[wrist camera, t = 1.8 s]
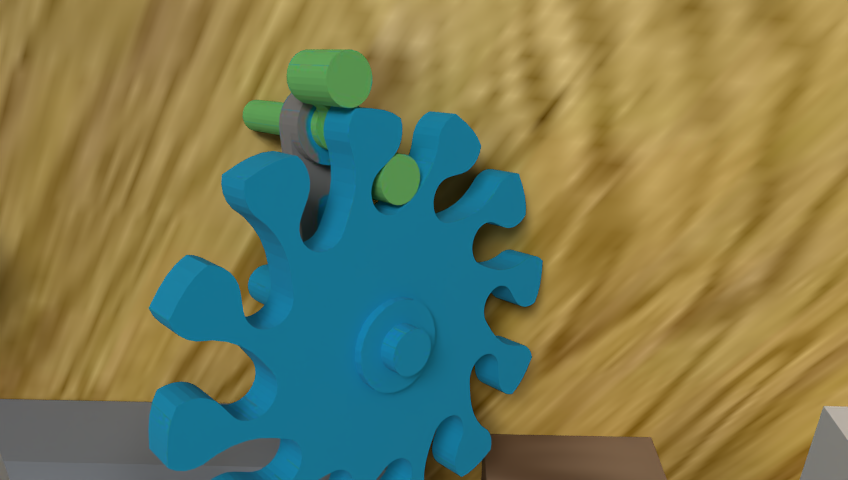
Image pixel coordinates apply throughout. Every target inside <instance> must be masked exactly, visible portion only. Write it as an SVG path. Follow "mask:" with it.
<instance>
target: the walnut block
mask: <svg viewBox="0 0 848 480" xmlns="http://www.w3.org/2000/svg"><path fill="white" fill-rule="evenodd" d="M490 436H491V450H490V451H489V452H488V454H487V455H486V456H485V457H484V458H483V459H482V476H481V480H667V479H666V476H665V474H664V471H663V468H662V466H661V463H660V460H659V458H658V455H657V452H656V449H655V447H654V444H653V441H652V439H651V437H604V436H556V435H508V434H490Z"/></svg>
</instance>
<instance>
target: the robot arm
mask: <svg viewBox="0 0 848 480" xmlns="http://www.w3.org/2000/svg"><path fill="white" fill-rule="evenodd" d="M0 480H10V479H9V476H8V474H7V471H6V468H5V465H4V462H3V460H2V457H1V454H0ZM800 480H848V407H838V406H824V407H823V410H822V413H821V416H820V419H819V422H818V425H817V428H816V431H815V434H814V437H813V441H812V444H811V447H810V450H809V453H808V456H807V459H806V462H805V465H804V468H803V471H802V474H801V477H800Z"/></svg>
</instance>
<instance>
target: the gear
mask: <svg viewBox="0 0 848 480" xmlns="http://www.w3.org/2000/svg"><path fill="white" fill-rule="evenodd" d="M287 83H288V86H289V89H290V91H291V94H290V95H289V96H288V97H287V99H286V100H285V102H284V103H282V102H272V101H263V100H253V101H251V102H249V103H248V104H247V105H246V106H245V108H244V111H243V120H244V123H245V125H246V126H247V127H248V128H249V129H251V130H253V131H258V132H264V133H270V134H276V135H280V139H281V147H282V153H281V152H276V151H270V152H263V153H260V154H257V155H254V156H252V157H249V158H248V159H246V160H244V161H242V162H240V163H239V164H237V165H236V166H234V167H233V168H231V169H230V170H228V171H227V172H225V173H224V174H222V183H221V184H222V190H223V194H224V197H225V199H226V201H227V203H228V204H229V205H230V206H231V207H232V209H234V210H235V211H236V212H238V213H239V214H240V215H242V216H243V217H244V218H245V219H246V220H247V221H248V222H249V223H250V224H251V226H252V227H253V228H254V230H255V231H256V233H257V234H258V236H259V238H260V240H261V242H262V245H263V247H264V249H265V253H266V257H267V262H268V264H267V265H262V266H260V267H258V268H257V269H256V270H255V271H254V272H253V273H252V274H251V276H250V279H249V282H248V290H249V293H250V295H251V296H252V298H254V299H255V300H257V301H258V302H260V303H262V304H264V306H263V307H262V308H261V309H260V310H259V311H258V312H256V313H255V314H253V315H251V316H248V317H245V315H244V312H243V306H242V300H241V293H240V289H239V285H238V283H237V281H236V279H235V278H234V276H233V275H232V274H231V273H230V272H228V271H227V270H225V269H224V268H222V267H220V266H218V265H215V264H213V263H211V262H209V261H207V260H205V259H203V258H201V257H198V256H195V255H186V256H185V257H183V258H182V259H181V260H180V261H179V262H178V263H177V264H176V265H175V266H174V267H173V268H172V270H171V271H170V272H169V273H168V274H167V276H166V277H165V279H164V281H163V282H162V284H161V286H160V287H159V289H158V291H157V293H156V295H155V297H154V299H153V301H152V302H151V304H150V306H149V310H150V311H151V313H152V315H153V316H154V317H155V318H156V319H157V320H158V321H159V322H160V323H162V324H163V325H165V326H166V327H167V328H169V329H170V330H172V331H173V332H175V333H176V334H177V335H179V336H181V337H183V338H185V339H187V340H191V341H208V340H215V341H225V342H229V343H233V344H236V345H238V346H240V348H241V349H242V350H243V351H244V352H245V353H246V354H247V355H248V356H249V357H250V358H251V359H252V361H253V362H254V365H255V371H256V375H255V380H254V383H253V385H252V387H251V389H250V390H249V392H248V393H247V394H246V395H245V396H244V397H243V398H241V399H240V400H238V401H236V402H234V403H231V404H219V403H217V402H216V401H215V400H214V399H212V398H211V397H210V396H208V395H207V394H206V393H205V392H203V391H202V390H201V389H200V388H198V387H197V386H195V385H193V384H191V383H188V382H175V383H171V384H168V385H165V386H163V387H161V388H159V389H158V390H157V391H156V394H155V396H154V399H153V401H152V405H151V410H150V414H149V429H148V432H149V449H150V450H151V451H152V452H153V453H154V454H155V455H156V456H157V457H158V458H159V459H160V460H161V461H162V463H163V464H164V465H165V466H166V467H167V468H168V469H171V470H175V471H188V470H192V469H195V468H197V467H199V466H201V465H203V464H205V463H206V462H207V461H209V460H210V459H212V458H213V457H214V456H216V455H217V454H219V453H221V452H223V451H224V450H226V449H228V448H230V447H232V446H234V445H237V444H240V443H242V442H245V441H249V440H254V439H259V438H280V446H279V449H278V451H277V453H276V455H275V457H274V458H273V459H272V461H271V462H270V463H269V464H267V465H266V466H265V467H263V468H262V469H260V470H257V471H253V472H226V473H223V474H220V475H218V476H216V477H214V478H213V479H211V480H319V479H321V478H322V477H324V476H326V475H328V474H330V473H331V474H330V477H329V480H376V479H377V478H378V477H379V475H380V474H381V473H382V471H383V470H384V469H385V468H386V467H387V466H388V467H387V469H386V471H385V472H384V474H383V475H382V477H381V478H380V479H379V480H424V470H425V464H426V459H427V455H428V452H429V448H430V445H431V442H432V439H433V436H434V434H435V431H436V429H437V431H436V434H435V437H434V440H433V446H432V452H433V456H434V459H435V460H436V461H437V462H438V463H440V464H441V465H443V466H445V467H446V468H448V469H450V470H451V471H453V472H454V473H456V474H458V475H459V476H461V477H462V476H464V475H466V474H467V473H469V472H470V471H471V470H472V469H474V468H475V467H476V466H477V465H478V464H479V463H480V462H481V461H482V459H483V458H484V457H485V456H486V455H487V454H488V452H489V451H490V450H491V436H490V433H489V432H488V430H486V429H485V428H484V427H482V426H481V425H480V423H479V422H478V421H477V419H476V417H475V415H474V413H473V409H472V406H471V398H470V374H471V371H472V368H473V366H474V365H475V371H476V375H477V378H478V379H479V380H480V381H481V382H482V383H485V384H487V385H489V386H491V387H493V388H495V389H497V390H500V391H502V392H504V393H506V394H512V393H513V392H514V391H515V389H516V388H517V387H518V385H519V383H520V382H521V380H522V378H523V376H524V374H525V372H526V370H527V368H528V365H529V363H530V361H531V358H532V356H531V352H530V350H529V349H528V348H527V347H526V346H524V345H522V344H519V343H516V342H514V341H511V340H509V339H506V338H504V337H501V336H495V335H494V334H493V332H492V331H491V329H490V327H489V326H488V324H487V322H486V320H485V317H484V307H485V302H486V300H487V298H488V296H489V294H490V293H492V294H493V295H494V296H495V297H496V298H499V299H502V300H505V301H508V302H511V303H514V304H517V305H520V306H523V307H527V306H530V305H532V304H533V303H534V302H535V300H536V297H537V295H538V291H539V287H540V281H541V274H542V263H543V261H542V260H541V259H540V258H539V257H536V256H533V255H529V254H525V253H522V252H518V251H514V250H505V251H503V252H501V253H500V254H499V255H497V256H496V257H494V258H492V259H490V260H488V261H484V262H476V260H475V259H474V256H473V252H472V245H473V240H474V237H475V234H476V233H477V231H478V229H479V228H480V227H481V226H482V225H483V224H485V223H489V224H493V225H497V226H501V227H506V228H512V227H514V226H516V225H518V224H519V223H520V222H521V221H522V220H523V218H524V217H525V215H526V202H525V195H524V190H523V186H522V183H521V180H520V176H519V174H517V173H511V172H505V171H499V170H494V169H487V170H484V171H482V172H481V173H479V174H478V175H477V177H476V178H475V179H474V181H473V183H472V184H471V186H470V188H469V189H468V190H467V191H466V193H465V194H464V195H463V196H462V197H461V198H460V199H459V200H458V201H457V202H456V203H455V204H453V205H452V206H450V207H449V208H447V209H445V210H443V211H441V212H438V213H435V211H434V203H433V202H434V196H435V192H436V190H437V188H438V186H439V185H440V183H441V182H442V181H443V180H445V179H446V178H448V177H451V176H455V175H458V174H462V173H464V172H466V171H468V170H469V169H470V168H471V167H472V166H473V165H474V164H475V162H476V160H477V158H478V156H479V153H480V149H481V145H480V142H479V140H478V138H477V136H476V134H475V133H474V131H473V130H472V129H471V128H470V127H469V126H468V124H467V123H466V122H464V121H463V120H462V119H461V118H460V117H459V116H458V115H456V114H450V113H440V112H428V113H426V114H425V115H423V117H422V118H421V119H420V120H419V121H418V123H417V125H416V127H415V130H414V133H413V139H412V146H411V149H410V153H409V156H408V155H404V154H398V153H396V152H397V150H398V148H399V145H400V142H401V138H402V122H401V118H400V117H398V116H396V115H395V114H393V113H391V112H388V111H385V110H379V109H372V108H362V107H359V105H360V104H362V103H363V102H364V101H365V100H366V98H367V97H368V95H369V93H370V90H371V86H372V72H371V68H370V65H369V63H368V61H367V60H366V58H365V57H364V56H363V55H362V54H360V53H359V52H357V51H354V50H303V51H300V52H299V53H297V54H296V55H295V56H294V57H293V58H292V60H291V61H290V63H289V66H288V69H287ZM372 199H374V200H378V202H377V203H376V204H375V205H374V204H373V201H372ZM437 427H438V428H437Z"/></svg>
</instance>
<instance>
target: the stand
mask: <svg viewBox="0 0 848 480" xmlns="http://www.w3.org/2000/svg"><path fill="white" fill-rule="evenodd" d="M151 405H152V402H118V401H68V400H19V399H0V454H1V457H2V460H3V462H4V465H5V468H6V471H7V474H8V476H9V479H10V480H211V479H213V478H214V477H216V476H218V475H220V474H223V473H226V472H253V471H257V470H260V469H262V468H263V467H265V466H266V465H267V464H269V463H270V462H271V461H272V459H273V458H274V457H275V455H276V453H277V451H278V449H279V446H280V438H259V439H254V440H249V441H245V442H242V443H240V444H237V445H234V446H232V447H230V448H228V449H226V450H224V451H223V452H221V453H219V454H217V455H216V456H214V457H213V458H212V459H210V460H209V461H207V462H206V463H205V464H203V465H201V466H199V467H197V468H195V469H192V470H188V471H175V470H171V469H168V468H167V467H166V466H165V465H164V464H163V463H162V461H161V460H160V459H159V458H158V457H157V456H156V455H155V454H154V453H153V452H152V451H151V450H150V449H149V432H148V429H149V414H150V410H151ZM387 467H388V466H387ZM387 467H386V468H385V469H384V470H383V471H382V473H381V474H380V475H379V477H378V478H377V479H376V480H379V479H380V478H381V477H382V475H383V474H384V472H385V471H386V469H387ZM330 474H331V473H330ZM330 474H328V475H326V476H324V477H322V478H321V479H319V480H329V477H330Z"/></svg>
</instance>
